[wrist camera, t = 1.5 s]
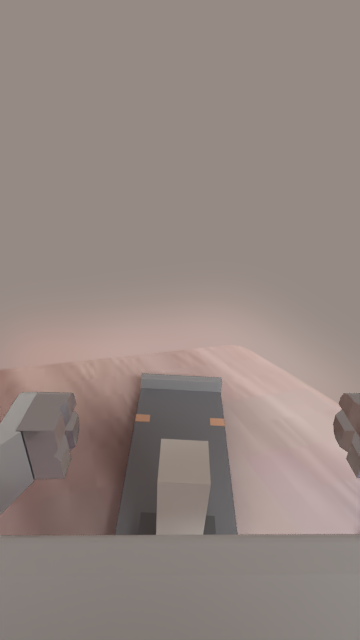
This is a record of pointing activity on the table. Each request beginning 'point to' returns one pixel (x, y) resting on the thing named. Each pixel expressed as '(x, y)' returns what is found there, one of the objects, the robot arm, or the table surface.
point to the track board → (182, 424)
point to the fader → (181, 491)
